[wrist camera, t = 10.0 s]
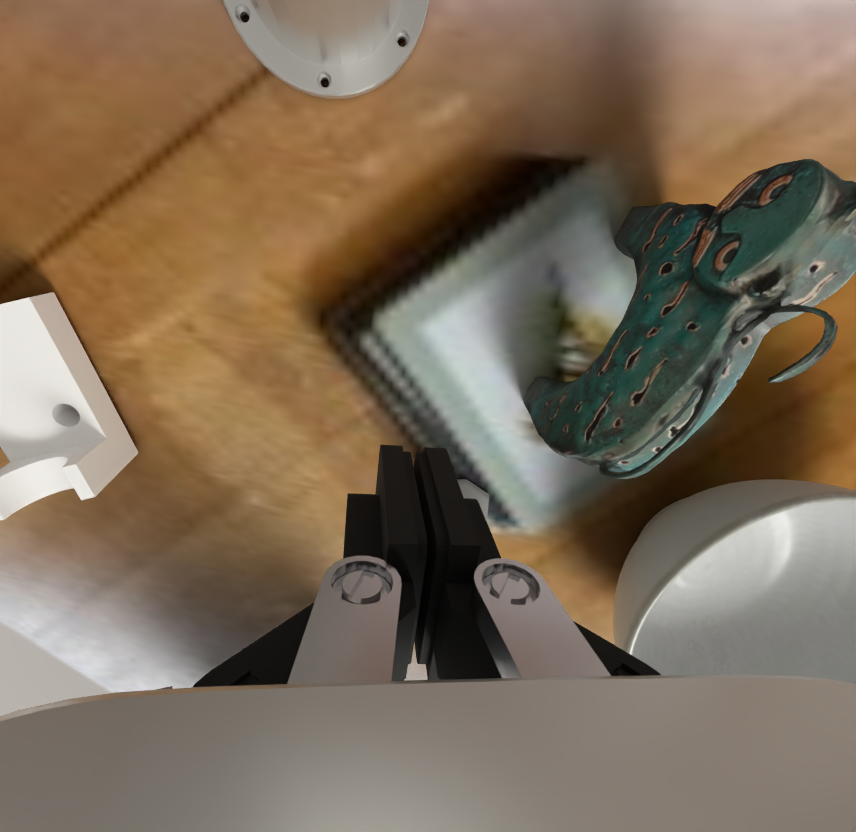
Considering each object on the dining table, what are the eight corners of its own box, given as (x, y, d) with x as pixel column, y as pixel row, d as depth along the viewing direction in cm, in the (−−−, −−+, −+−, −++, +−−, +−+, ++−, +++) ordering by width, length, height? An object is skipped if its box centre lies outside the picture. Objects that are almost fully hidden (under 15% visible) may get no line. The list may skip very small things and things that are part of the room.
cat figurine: (634, 177, 35) (930, 125, 17) (697, 220, 37) (1026, 216, 19) (501, 402, 41) (613, 548, 22) (561, 430, 43) (710, 586, 24)
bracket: (143, 447, 39) (95, 496, 32) (58, 469, 38) (-10, 523, 31) (61, 290, 33) (-18, 307, 27) (-38, 313, 33) (-144, 337, 26)
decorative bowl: (664, 670, 57) (737, 778, 46) (514, 568, 48) (558, 672, 37) (850, 521, 51) (984, 603, 40) (719, 373, 42) (845, 426, 31)
